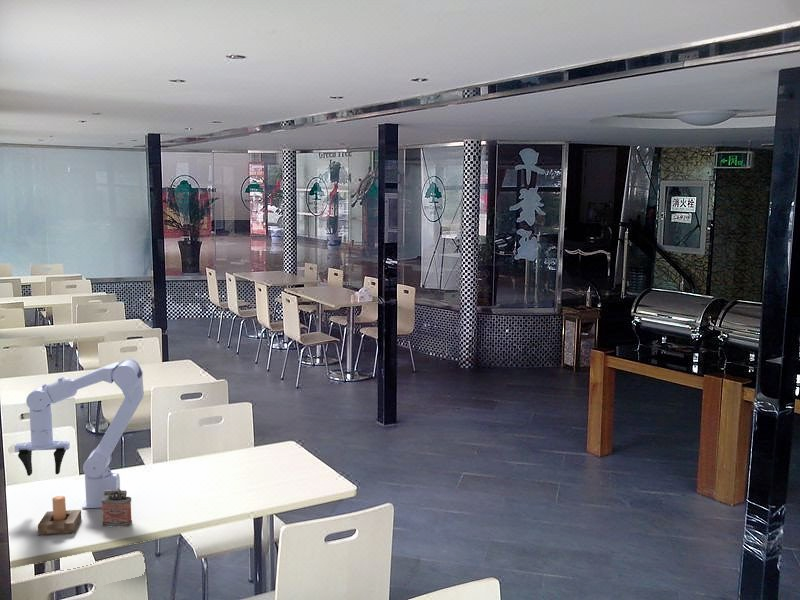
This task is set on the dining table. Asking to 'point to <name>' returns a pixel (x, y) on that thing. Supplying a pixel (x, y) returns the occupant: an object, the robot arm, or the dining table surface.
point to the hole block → (59, 523)
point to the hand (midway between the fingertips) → (43, 473)
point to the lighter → (116, 508)
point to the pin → (59, 508)
